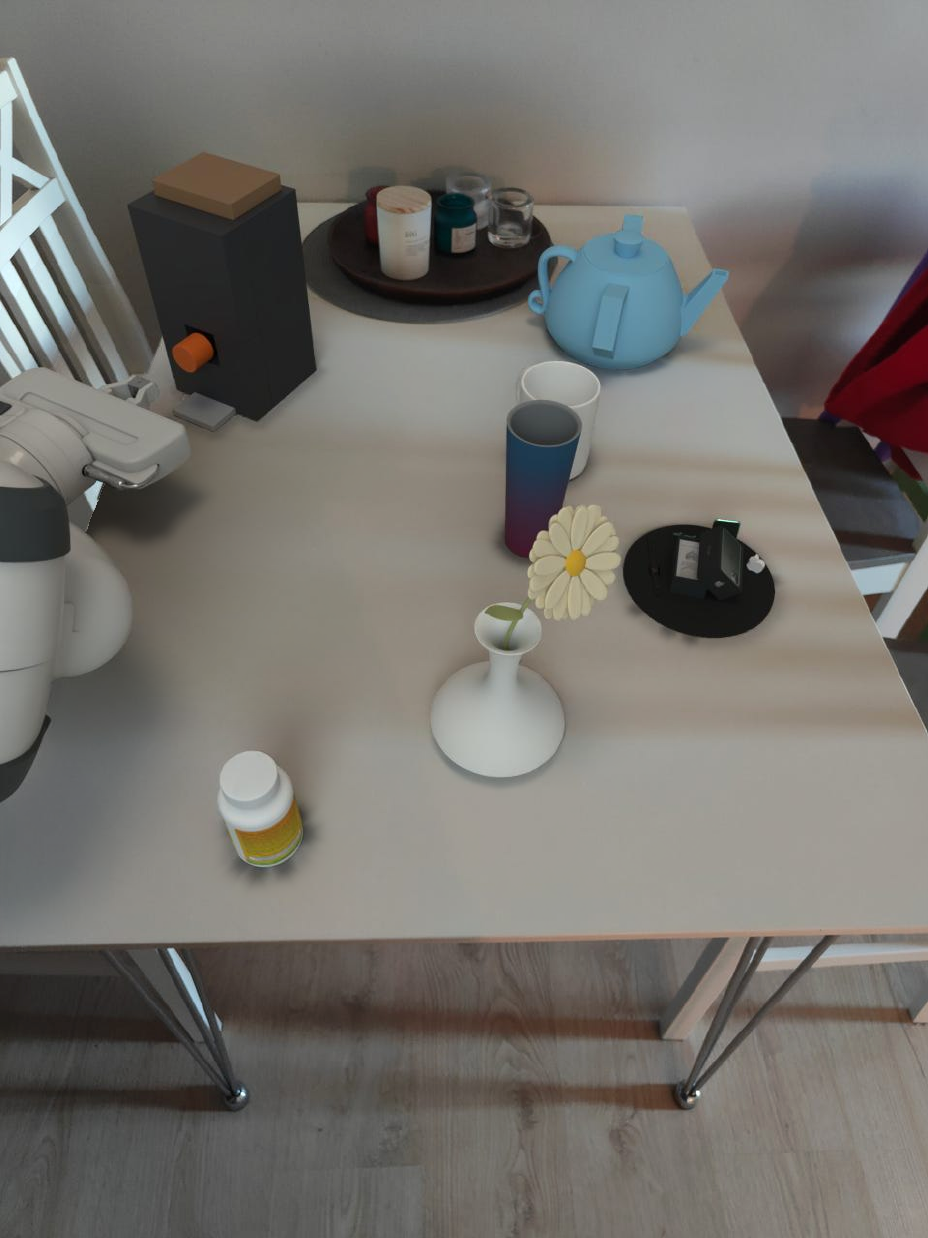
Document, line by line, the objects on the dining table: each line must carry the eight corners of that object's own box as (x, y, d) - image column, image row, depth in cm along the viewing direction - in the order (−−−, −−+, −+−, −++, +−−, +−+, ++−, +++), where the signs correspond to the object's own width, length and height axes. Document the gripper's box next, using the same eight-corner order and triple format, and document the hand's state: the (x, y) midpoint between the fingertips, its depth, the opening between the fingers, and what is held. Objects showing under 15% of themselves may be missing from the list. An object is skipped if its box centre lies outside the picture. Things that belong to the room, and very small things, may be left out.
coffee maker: (235, 440, 97) (190, 236, 78) (153, 407, 100) (92, 203, 82) (316, 370, 106) (293, 172, 88) (239, 341, 109) (201, 145, 91)
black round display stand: (773, 652, 80) (793, 614, 75) (614, 620, 82) (624, 581, 77) (774, 541, 89) (791, 502, 85) (631, 515, 91) (641, 476, 87)
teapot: (589, 393, 104) (608, 287, 94) (510, 316, 115) (518, 213, 104) (711, 354, 111) (741, 251, 100) (625, 285, 121) (644, 185, 111)
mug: (485, 430, 99) (490, 352, 91) (546, 412, 102) (556, 335, 94) (536, 493, 93) (546, 415, 85) (600, 472, 95) (616, 395, 87)
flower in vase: (450, 801, 69) (460, 599, 49) (415, 689, 76) (412, 473, 56) (600, 764, 71) (664, 559, 52) (553, 659, 78) (595, 443, 59)
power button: (198, 376, 93) (192, 350, 91) (175, 367, 94) (169, 341, 92) (216, 362, 95) (210, 337, 93) (193, 354, 96) (187, 328, 94)
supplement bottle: (318, 830, 67) (304, 768, 59) (268, 883, 64) (247, 825, 56) (268, 792, 69) (249, 727, 61) (219, 841, 66) (192, 780, 58)
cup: (507, 569, 85) (519, 451, 74) (487, 523, 89) (497, 404, 78) (571, 558, 87) (593, 440, 75) (549, 513, 91) (567, 394, 79)
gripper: (122, 469, 76) (221, 389, 84) (-40, 397, 82) (66, 329, 90) (140, 520, 81) (232, 440, 89) (-14, 448, 87) (84, 380, 95)
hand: (147, 384), depth 90 cm, fingers closed
